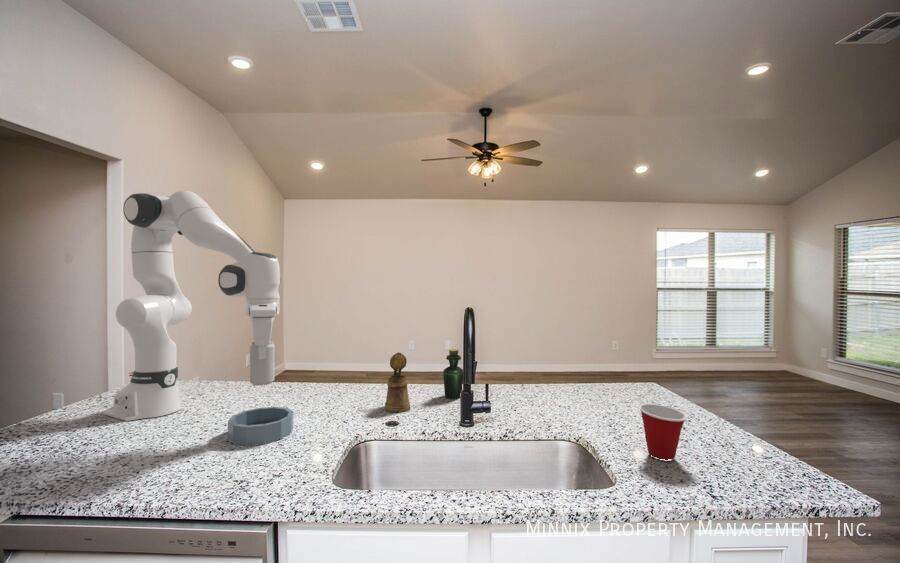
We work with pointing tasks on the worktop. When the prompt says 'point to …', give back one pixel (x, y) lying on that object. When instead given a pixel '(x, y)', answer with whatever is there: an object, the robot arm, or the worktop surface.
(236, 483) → the worktop surface
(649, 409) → the plastic cup
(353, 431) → the worktop surface
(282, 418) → the bowl
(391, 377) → the wooden bell
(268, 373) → the beverage can
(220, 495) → the worktop surface
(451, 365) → the potion bottle
